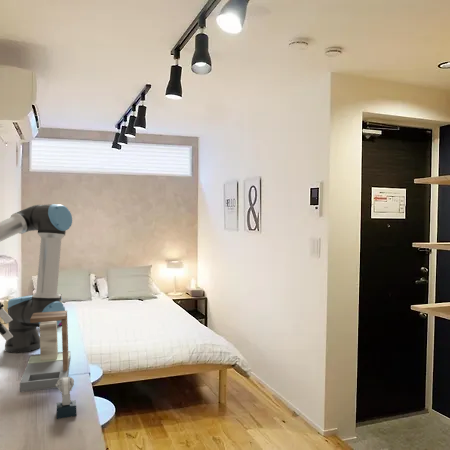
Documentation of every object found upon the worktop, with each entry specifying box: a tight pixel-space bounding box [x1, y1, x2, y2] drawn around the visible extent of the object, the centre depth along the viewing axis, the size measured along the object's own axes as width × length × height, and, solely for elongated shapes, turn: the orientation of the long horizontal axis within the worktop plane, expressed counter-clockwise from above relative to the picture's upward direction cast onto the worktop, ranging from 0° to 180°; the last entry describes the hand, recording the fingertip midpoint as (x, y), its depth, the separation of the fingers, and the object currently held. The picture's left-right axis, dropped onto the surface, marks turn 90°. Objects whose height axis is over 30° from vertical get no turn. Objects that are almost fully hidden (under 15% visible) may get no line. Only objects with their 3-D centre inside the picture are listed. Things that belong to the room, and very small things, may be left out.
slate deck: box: [19, 350, 71, 393], centre depth 178 cm, size 33×15×3 cm, turn 16°
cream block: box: [39, 321, 59, 361], centre depth 186 cm, size 5×6×14 cm
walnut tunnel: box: [30, 310, 69, 371], centre depth 174 cm, size 10×12×20 cm
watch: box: [56, 376, 77, 420], centre depth 141 cm, size 6×8×11 cm
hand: (9, 329), depth 184 cm, fingers open, 13 cm apart
